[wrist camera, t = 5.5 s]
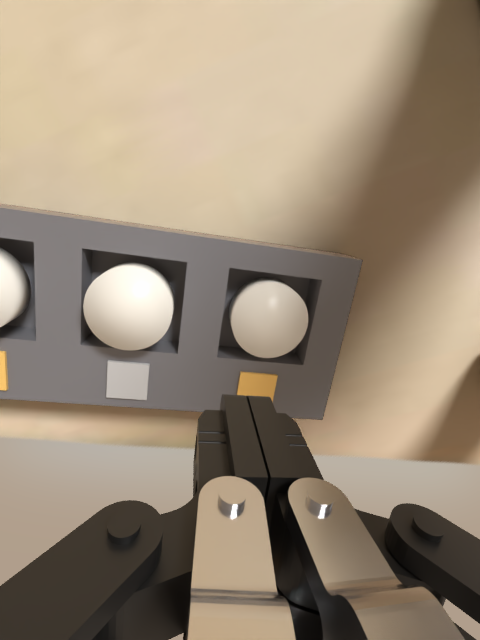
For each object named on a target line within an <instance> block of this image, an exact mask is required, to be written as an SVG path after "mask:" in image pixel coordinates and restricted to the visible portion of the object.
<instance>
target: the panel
mask: <svg viewBox="0 0 480 640" xmlns="http://www.w3.org/2000/svg"><path fill="white" fill-rule="evenodd" d="M0 248H2V249H4V250H6V251H7V252H9V253H10V254H12V255H13V256H14V257H15V258H16V259H17V260H18V261H19V262H20V263H21V264H22V266H23V267H24V269H25V271H26V272H27V274H28V277H29V280H30V284H31V297H30V301H29V303H28V306H27V307H26V309H25V310H24V312H23V313H22V314H21V315H19V316H18V317H17V318H15V319H14V320H12V321H10V322H9V323H7V324H5V325H4V326H2V327H0V399H12V400H28V401H43V402H58V403H73V404H89V405H104V406H119V407H134V408H149V409H165V410H180V411H195V412H204V410H220V403H221V397H222V394H228V395H245V396H247V395H248V396H266V397H270V398H271V400H272V403H273V405H274V408H275V410H276V413H286V414H287V415H288V416H289V417H290V418H302V419H317V420H323V416H324V412H325V408H326V404H327V400H328V396H329V392H330V388H331V384H332V380H333V376H334V372H335V368H336V364H337V360H338V356H339V352H340V348H341V344H342V340H343V336H344V332H345V328H346V324H347V320H348V316H349V313H350V309H351V305H352V301H353V297H354V293H355V289H356V285H357V281H358V277H359V273H360V269H361V265H362V261H363V260H361V259H358V258H355V257H351V256H348V255H345V254H341V253H334V252H327V251H320V250H313V249H306V248H300V247H293V246H286V245H279V244H272V243H265V242H259V241H252V240H245V239H238V238H231V237H224V236H218V235H211V234H204V233H197V232H190V231H183V230H177V229H170V228H163V227H156V226H149V225H142V224H136V223H129V222H122V221H115V220H108V219H101V218H95V217H88V216H81V215H74V214H67V213H60V212H54V211H47V210H40V209H33V208H26V207H19V206H13V205H6V204H0ZM128 262H136V263H142V264H146V265H148V266H151V267H153V268H154V269H156V270H158V271H159V272H160V273H161V274H162V275H163V276H164V277H165V278H166V279H167V281H168V282H169V284H170V286H171V288H172V290H173V294H174V300H175V304H174V311H173V315H172V319H171V323H170V326H169V328H168V330H167V332H166V333H165V335H164V336H163V337H162V338H161V339H160V340H159V341H158V342H156V343H155V344H153V345H151V346H149V347H147V348H144V349H140V350H132V351H131V350H121V349H117V348H114V347H111V346H109V345H107V344H105V343H104V342H102V341H101V340H100V339H99V338H97V337H96V336H95V335H94V333H93V332H92V331H91V329H90V328H89V326H88V324H87V322H86V319H85V316H84V309H83V304H84V298H85V294H86V292H87V289H88V288H89V286H90V285H91V283H92V282H93V281H94V280H95V279H96V278H97V277H99V276H100V275H101V274H103V273H104V272H106V271H107V270H109V269H110V268H112V267H114V266H116V265H119V264H122V263H128ZM258 278H274V279H277V280H280V281H282V282H284V283H285V284H287V285H288V286H289V287H290V288H292V289H293V290H294V291H295V292H296V293H297V294H298V295H299V296H300V297H301V298H302V299H303V301H304V303H305V305H306V307H307V311H308V327H307V330H306V333H305V335H304V337H303V339H302V340H301V342H300V343H299V344H298V345H297V346H296V347H295V348H294V349H293V350H291V351H290V352H288V353H286V354H284V355H282V356H279V357H274V358H261V357H257V356H254V355H252V354H250V353H248V352H246V351H245V350H244V349H243V348H242V347H241V346H240V345H239V344H238V342H237V341H236V339H235V337H234V334H233V331H232V327H231V324H230V320H229V308H230V303H231V301H232V298H233V297H234V295H235V293H236V292H237V291H238V290H239V289H240V288H241V287H242V286H243V285H244V284H246V283H247V282H249V281H252V280H254V279H258Z"/></svg>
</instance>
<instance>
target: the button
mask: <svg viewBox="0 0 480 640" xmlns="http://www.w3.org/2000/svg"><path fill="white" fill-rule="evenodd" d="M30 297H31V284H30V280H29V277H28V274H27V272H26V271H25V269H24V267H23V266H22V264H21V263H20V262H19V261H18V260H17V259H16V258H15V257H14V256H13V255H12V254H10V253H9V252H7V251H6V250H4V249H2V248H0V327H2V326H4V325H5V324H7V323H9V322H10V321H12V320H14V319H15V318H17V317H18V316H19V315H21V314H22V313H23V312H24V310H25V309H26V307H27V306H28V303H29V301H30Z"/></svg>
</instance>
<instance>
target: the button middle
mask: <svg viewBox="0 0 480 640" xmlns="http://www.w3.org/2000/svg"><path fill="white" fill-rule="evenodd" d="M174 304H175V300H174V294H173V290H172V288H171V286H170V284H169V282H168V281H167V279H166V278H165V277H164V276H163V275H162V274H161V273H160V272H159V271H158V270H156V269H154V268H153V267H151V266H148V265H146V264H142V263H136V262H128V263H122V264H119V265H116V266H114V267H112V268H110V269H109V270H107V271H106V272H104V273H103V274H101V275H100V276H99V277H97V278H96V279H95V280H94V281H93V282H92V283H91V285H90V286H89V288H88V289H87V292H86V294H85V298H84V304H83V309H84V316H85V319H86V322H87V324H88V326H89V328H90V329H91V331H92V332H93V333H94V335H95V336H96V337H97V338H99V339H100V340H101V341H102V342H104V343H105V344H107V345H109V346H111V347H114V348H117V349H121V350H131V351H132V350H140V349H144V348H147V347H149V346H151V345H153V344H155V343H156V342H158V341H159V340H160V339H161V338H162V337H163V336H164V335H165V333H166V332H167V330H168V328H169V326H170V323H171V319H172V315H173V311H174Z"/></svg>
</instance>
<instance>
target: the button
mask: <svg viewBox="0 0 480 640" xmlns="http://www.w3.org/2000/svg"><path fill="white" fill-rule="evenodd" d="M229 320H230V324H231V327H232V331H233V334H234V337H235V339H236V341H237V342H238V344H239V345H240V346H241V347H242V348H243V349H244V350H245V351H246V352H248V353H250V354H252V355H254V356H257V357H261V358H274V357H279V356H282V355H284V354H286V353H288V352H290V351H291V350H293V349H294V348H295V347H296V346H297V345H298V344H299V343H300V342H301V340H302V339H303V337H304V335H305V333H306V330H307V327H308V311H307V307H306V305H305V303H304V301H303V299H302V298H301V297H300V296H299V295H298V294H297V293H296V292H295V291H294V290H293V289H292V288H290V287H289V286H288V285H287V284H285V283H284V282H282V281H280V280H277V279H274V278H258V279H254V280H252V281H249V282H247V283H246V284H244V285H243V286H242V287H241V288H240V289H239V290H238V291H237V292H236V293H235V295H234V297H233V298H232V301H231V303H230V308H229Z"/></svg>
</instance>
